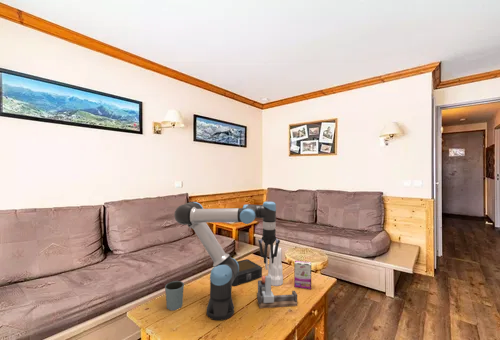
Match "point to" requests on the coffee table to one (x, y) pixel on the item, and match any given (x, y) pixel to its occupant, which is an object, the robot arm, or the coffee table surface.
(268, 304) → the slide rail
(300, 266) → the candy bar box
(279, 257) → the decorative vase
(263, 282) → the button
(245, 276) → the cash box
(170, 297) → the grey cup
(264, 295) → the carriage
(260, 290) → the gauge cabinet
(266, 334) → the coffee table surface
